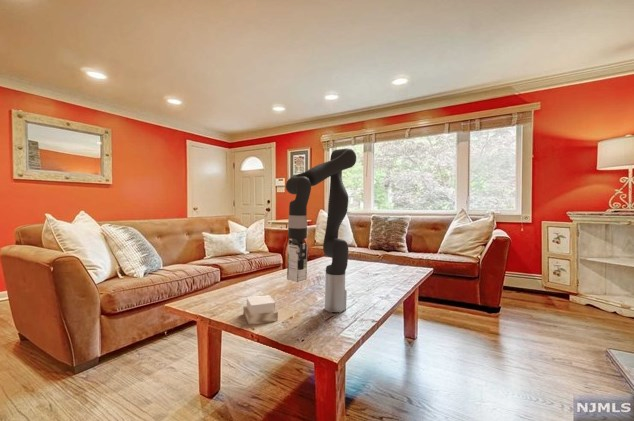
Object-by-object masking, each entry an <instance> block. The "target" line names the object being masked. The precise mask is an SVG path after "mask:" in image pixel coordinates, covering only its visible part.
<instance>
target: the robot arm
mask: <svg viewBox="0 0 634 421" xmlns="http://www.w3.org/2000/svg"><path fill="white" fill-rule="evenodd" d="M356 163H357V154H356V152H355V150H354V149H352V148H349V147H348V148H346V147H345V148H340V149H335V150H333V151H332V152H331V155H330V160H328V161H324V162H322V163H319V164H317V165H314V166H313V167H311V168H309V169H308V170H306V171H304V172H301V173H298V174H295V175H292V176H291V177H289V179H288V180H287V181H286V184H285V190H286V191H287V193H289V194H291V195H295V199H294V200H291V201H290V202H289V208H288V223H287V226H288V228H287V231H288V232H287V237H288V239H289V240H288V244H293V245H297V246H298V247H299V248H300V252H298V253H297V251H296V255H298V270H303V269H304V260H305V259H306V258H307V259H308V244H307V243H304V240H306V239H307V238H308V218H307V215H308V214H307V210H308V209H307V208H308V203H309V199H310V195H311V192H312V191H311V190H312V187H314V186H315V187H316V186H317V185H318V184H320V183H321V182H323V181H325V180H326V179H328V178H330V179H329V180H330V182H329V195H328V204H327V206H328V207H327V216H326V217H327V219H326V225H325V226H326V227H325V232H324V239H323V244H322V247H323V248H322V251H323V253H324V255H325V256H326V257H328V258H331V263H330V264H328V265H327V266H326V267H325V283H324V284H325V288H324V291H325V292H324V310H325V311H326V312H327V313H328V312H329V313H332V312H339V313H343V312H344V311H346V310H347V296H348V292H347V289H346V270H347V267H348V260H349V244H348V243H347V241H346V240H344V239H341V238H338V237H339V229H340V226H341V224H342V223H343V220H344V219H345V217H346V215H347V213H348V209H349V194H348V192H347V189H346V187H345V185H344V183H343V182H344V181H343V171H345V170H349V169H350V168H353V167H354V166H355V164H356ZM299 254H300V256H299ZM345 309H346V310H345ZM343 310H344V311H343ZM342 311H343V312H342Z"/></svg>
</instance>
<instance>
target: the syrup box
mask: <svg viewBox="0 0 634 421" xmlns="http://www.w3.org/2000/svg"><path fill="white" fill-rule="evenodd" d="M296 251H297V253H298V252H300V248H299V247H298V246H297V245H293V244H289V243H288V244H287V262H286V263H287V265H286V266H287V267H286V268H287V269H286V270H287V271H286V280H287V281H290V282H295V283H299V282H302V281H305V280H307V275H308V274H307V272H308V271H307V270H308V269H307V268H308V257H307V258H306V259H305V260H304V269H303V270H298V255H296ZM299 256H300V254H299Z"/></svg>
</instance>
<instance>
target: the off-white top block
mask: <svg viewBox="0 0 634 421" xmlns="http://www.w3.org/2000/svg"><path fill="white" fill-rule="evenodd" d="M246 306H247V308H248V310H249V312H250V314H251V315H256V314H263V313H270V312H275V309H276V301H275V300H274V299H273V298H272V297H271V295H270V294H267V295H258V296H250V297H249V296H248V297H246Z"/></svg>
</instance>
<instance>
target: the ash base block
mask: <svg viewBox="0 0 634 421" xmlns="http://www.w3.org/2000/svg"><path fill="white" fill-rule="evenodd" d="M242 312H243V317H244V318H245V321H246V323H247V324H249V325H248V326H252V324H253V325H258V324H264V323H270V322H277V321H278V317H279V313H278V311H277V309H276V308H275V312H270V313H263V314H256V315H251V314H250V312H249V310H248V308H247V305H243V311H242Z"/></svg>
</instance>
